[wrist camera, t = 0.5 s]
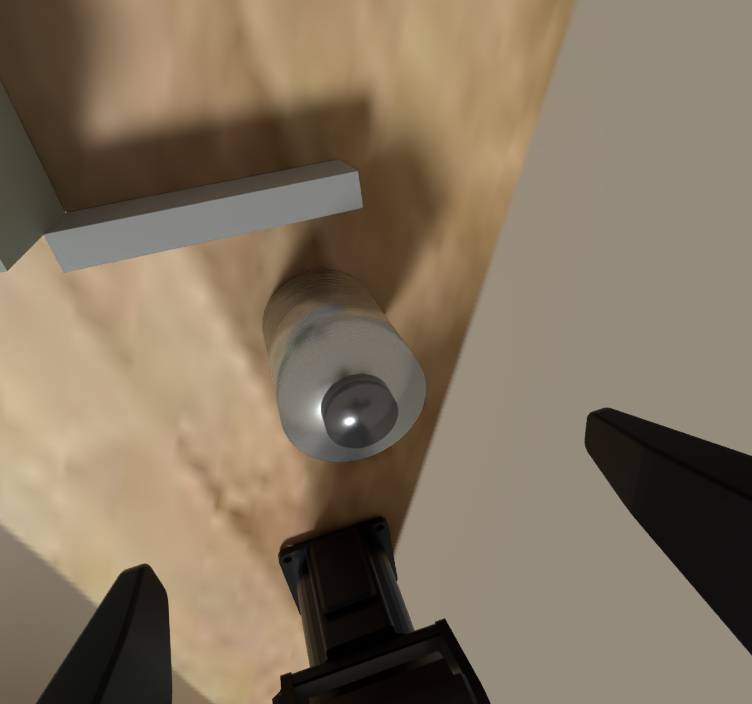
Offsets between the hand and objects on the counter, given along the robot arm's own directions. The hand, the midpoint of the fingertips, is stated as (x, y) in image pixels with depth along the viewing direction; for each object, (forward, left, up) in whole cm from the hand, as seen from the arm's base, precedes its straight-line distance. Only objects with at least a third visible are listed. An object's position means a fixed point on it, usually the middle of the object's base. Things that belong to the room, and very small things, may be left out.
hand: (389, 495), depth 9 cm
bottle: (-3, -1, -12) cm, 12 cm away
